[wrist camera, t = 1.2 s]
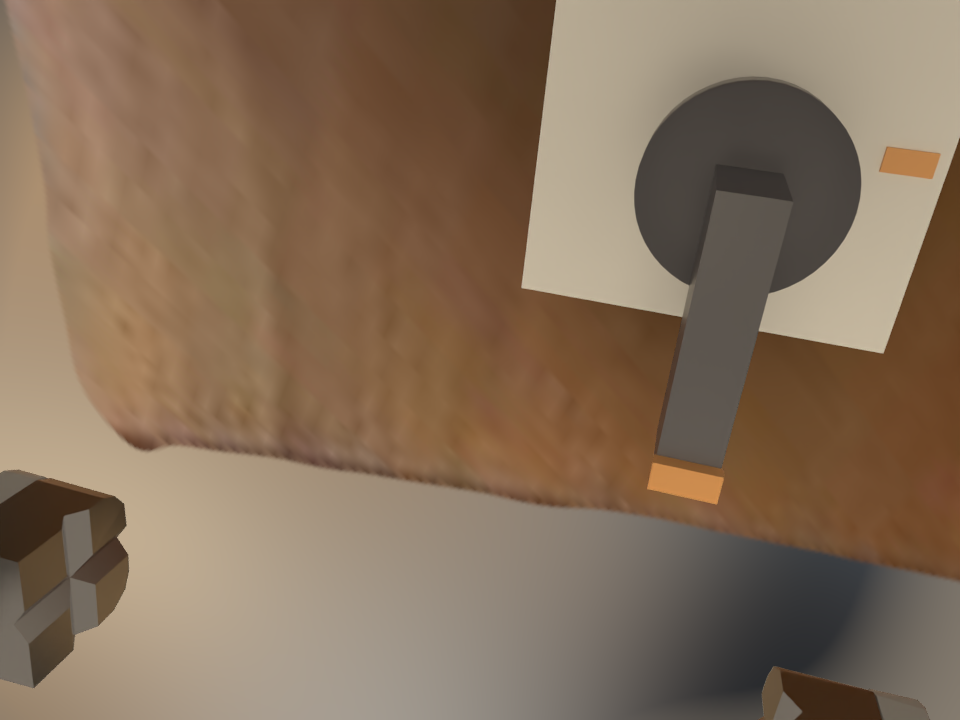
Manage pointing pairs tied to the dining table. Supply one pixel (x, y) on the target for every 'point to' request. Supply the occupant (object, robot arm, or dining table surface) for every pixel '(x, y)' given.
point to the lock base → (726, 55)
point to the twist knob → (735, 245)
